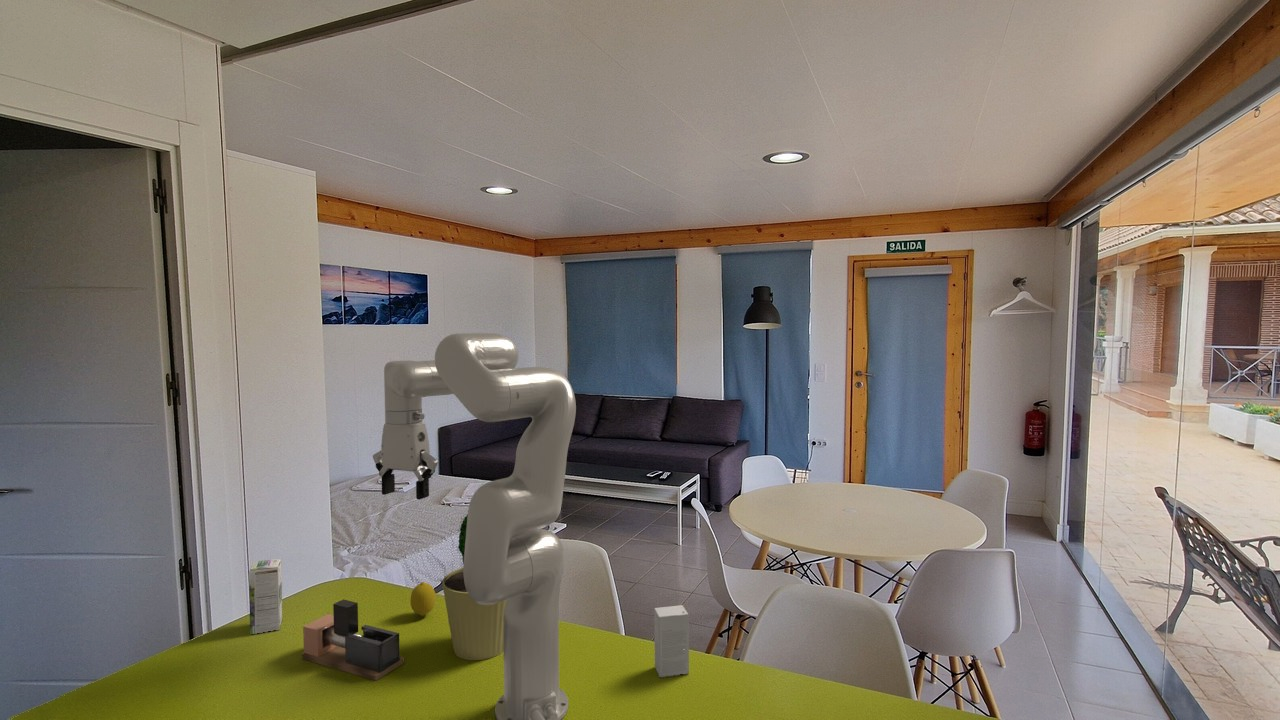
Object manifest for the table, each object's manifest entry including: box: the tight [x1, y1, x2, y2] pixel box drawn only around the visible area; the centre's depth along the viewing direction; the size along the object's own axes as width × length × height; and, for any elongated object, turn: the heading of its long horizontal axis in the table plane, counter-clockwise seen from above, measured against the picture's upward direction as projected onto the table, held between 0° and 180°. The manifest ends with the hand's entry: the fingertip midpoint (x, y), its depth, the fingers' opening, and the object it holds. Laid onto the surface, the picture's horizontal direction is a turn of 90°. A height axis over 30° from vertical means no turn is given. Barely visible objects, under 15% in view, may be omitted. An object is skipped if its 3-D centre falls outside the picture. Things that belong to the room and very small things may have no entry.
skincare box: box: [653, 604, 690, 678], centre depth 122 cm, size 6×4×12 cm
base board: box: [301, 646, 404, 681], centre depth 126 cm, size 20×7×1 cm, turn 67°
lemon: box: [410, 581, 437, 617], centre depth 145 cm, size 6×6×8 cm
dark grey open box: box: [345, 624, 401, 673], centre depth 123 cm, size 9×5×6 cm, turn 67°
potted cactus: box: [441, 506, 507, 661], centre depth 130 cm, size 15×15×30 cm
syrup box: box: [248, 558, 283, 636], centre depth 139 cm, size 6×6×14 cm
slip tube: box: [322, 599, 365, 648], centre depth 127 cm, size 11×3×9 cm, turn 67°
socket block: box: [302, 613, 337, 657], centre depth 129 cm, size 4×6×6 cm, turn 157°
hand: (405, 495), depth 136 cm, fingers open, 9 cm apart
